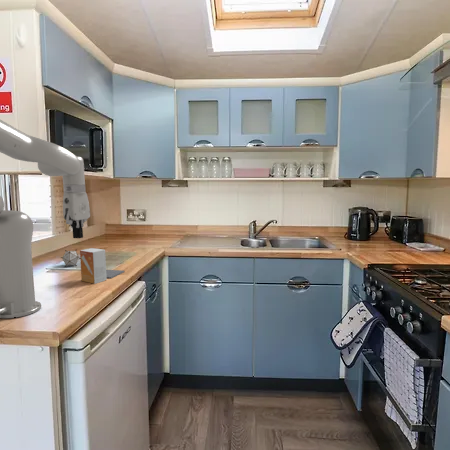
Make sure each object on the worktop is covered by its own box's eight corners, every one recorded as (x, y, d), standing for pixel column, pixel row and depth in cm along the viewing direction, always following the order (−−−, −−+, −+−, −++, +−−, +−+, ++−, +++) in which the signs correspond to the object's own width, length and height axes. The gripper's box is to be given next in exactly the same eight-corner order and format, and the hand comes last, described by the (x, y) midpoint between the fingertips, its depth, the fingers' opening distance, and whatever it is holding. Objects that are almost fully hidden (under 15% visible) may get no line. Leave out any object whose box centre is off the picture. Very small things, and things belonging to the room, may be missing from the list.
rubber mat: (111, 278, 141) (111, 277, 141) (90, 277, 143) (90, 275, 143) (124, 271, 152) (124, 270, 152) (104, 270, 154) (104, 269, 154)
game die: (67, 273, 164) (56, 257, 165) (83, 264, 170) (72, 248, 170) (69, 268, 157) (57, 250, 158) (85, 259, 162) (74, 242, 163)
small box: (81, 281, 137) (79, 250, 136) (94, 277, 143) (92, 247, 141) (94, 284, 133) (92, 252, 132) (107, 280, 139) (105, 249, 137)
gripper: (69, 190, 117) (73, 241, 119) (95, 189, 131) (98, 235, 134) (51, 190, 118) (55, 241, 121) (78, 189, 133) (82, 234, 135)
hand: (78, 237), depth 127 cm, fingers closed
